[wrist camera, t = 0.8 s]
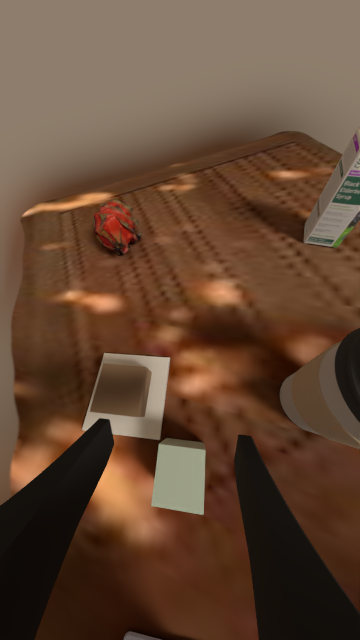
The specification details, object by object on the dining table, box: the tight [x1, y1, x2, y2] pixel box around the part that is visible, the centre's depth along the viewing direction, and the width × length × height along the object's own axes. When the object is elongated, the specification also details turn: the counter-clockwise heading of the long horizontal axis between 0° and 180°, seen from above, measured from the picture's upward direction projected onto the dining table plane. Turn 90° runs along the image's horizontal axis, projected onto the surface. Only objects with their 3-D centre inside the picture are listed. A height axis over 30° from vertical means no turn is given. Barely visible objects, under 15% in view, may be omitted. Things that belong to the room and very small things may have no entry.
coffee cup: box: [280, 328, 360, 449], centre depth 16 cm, size 9×9×15 cm
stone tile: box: [82, 353, 170, 440], centre depth 25 cm, size 10×10×1 cm
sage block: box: [151, 438, 205, 515], centre depth 19 cm, size 4×4×5 cm
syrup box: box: [304, 128, 360, 248], centre depth 29 cm, size 6×6×14 cm
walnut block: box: [90, 363, 152, 417], centre depth 23 cm, size 6×6×4 cm
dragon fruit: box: [93, 199, 142, 255], centre depth 36 cm, size 8×8×12 cm
